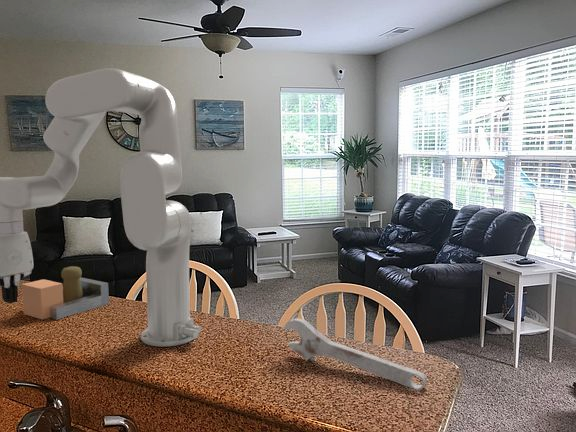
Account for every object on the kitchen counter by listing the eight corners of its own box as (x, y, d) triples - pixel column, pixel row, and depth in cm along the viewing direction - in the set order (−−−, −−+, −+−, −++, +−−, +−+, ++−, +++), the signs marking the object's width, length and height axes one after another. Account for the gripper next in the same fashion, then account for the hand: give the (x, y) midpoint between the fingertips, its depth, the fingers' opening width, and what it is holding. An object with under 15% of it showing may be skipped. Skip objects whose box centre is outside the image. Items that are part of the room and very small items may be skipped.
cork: (65, 310, 128) (63, 270, 127) (58, 305, 133) (55, 267, 131) (88, 306, 132) (86, 267, 131) (80, 301, 137) (78, 263, 135)
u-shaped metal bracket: (108, 303, 135) (108, 282, 134) (56, 320, 121) (55, 297, 120) (77, 296, 142) (76, 276, 141) (24, 310, 128) (23, 289, 127)
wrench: (420, 406, 86) (280, 352, 101) (423, 401, 88) (285, 349, 102) (427, 365, 85) (284, 316, 99) (430, 361, 86) (289, 314, 101)
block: (63, 313, 126) (62, 283, 125) (42, 319, 121) (40, 288, 120) (45, 307, 130) (43, 279, 129) (23, 313, 125) (21, 284, 124)
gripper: (-19, 233, 107) (-13, 312, 109) (44, 225, 120) (48, 296, 122) (-36, 231, 111) (-31, 307, 113) (26, 223, 123) (30, 292, 126)
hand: (10, 301), depth 117 cm, fingers closed
